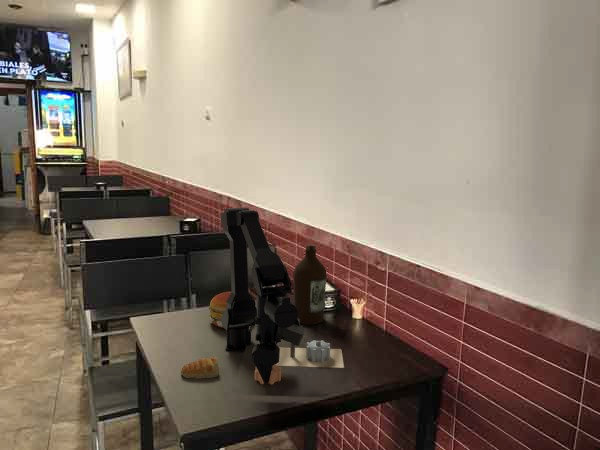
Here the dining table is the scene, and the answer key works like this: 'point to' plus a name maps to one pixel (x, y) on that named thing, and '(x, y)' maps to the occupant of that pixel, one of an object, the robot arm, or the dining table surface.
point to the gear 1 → (274, 375)
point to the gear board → (298, 358)
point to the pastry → (201, 368)
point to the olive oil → (310, 288)
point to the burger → (218, 308)
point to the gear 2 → (318, 351)
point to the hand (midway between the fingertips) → (267, 373)
